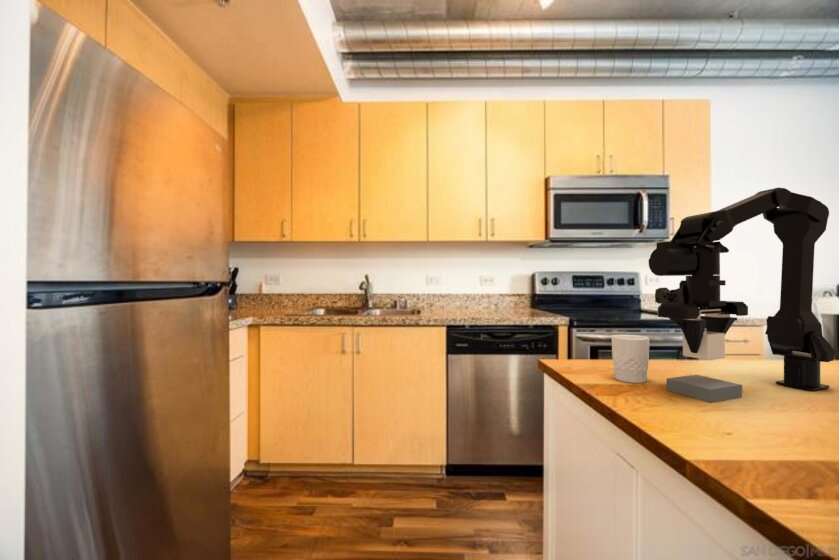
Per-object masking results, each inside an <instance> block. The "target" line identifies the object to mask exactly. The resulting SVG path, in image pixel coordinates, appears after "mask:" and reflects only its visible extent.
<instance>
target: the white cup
mask: <svg viewBox="0 0 839 560" xmlns="http://www.w3.org/2000/svg"><path fill="white" fill-rule="evenodd" d="M650 341H651V340H650V337H648V336H643V335H636V334H613V335H611V350H612V351H611V352H612V353H611V354H612V356H611V357H612V364H613V365H612V366H613V376H614V379H615V380H617V381H620V382H624V383H631V384H632V383H633V384H643V382H644V383H646V382H647V381H648V370H649V360H650V357H649V356H650Z"/></svg>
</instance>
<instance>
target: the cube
mask: <svg viewBox="0 0 839 560" xmlns="http://www.w3.org/2000/svg"><path fill="white" fill-rule="evenodd" d="M725 336H726V334H725V333H718V332H710V331H706V330H704V333H703V337H702V340H701V344H700V347H699V350H698V352H697V353H692V352H691V351H690V349H689V346H688V344H687V341H686V339H685V336H684V334H683V333H682V356H683V357H689V358H693V359H699V360H705V361H713V360H721V359H726V347H725V346H726V344H725V343H726V341H725V339H726V338H725Z"/></svg>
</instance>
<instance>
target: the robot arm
mask: <svg viewBox="0 0 839 560" xmlns="http://www.w3.org/2000/svg"><path fill="white" fill-rule="evenodd" d="M759 215H762V217H763V219H764V220H766V222H768V223H770V224H772V225H773V233H774V235H776V237H777V238H778V239H779V241H780V242H781V243H782V255H781V257H782V258H781V279H780V295H779V296H780V298H779V299H780V301H779V309H778V310H777V312H776V313H774V315H769V316H767V318H766V330H765V333H764V334H765V335H767V337H766V338H767V341H768V343H769V347H770V350H771V353H772V355H774V356H782V357H783V379H782V380H775V384H778V385H783V386H786V387H791V388H796V389H800V390H801V389H802V390H804V391H805V390H806V391H811V392H813V391H814V392H815V391H819V390H824V389H825V390H826V389H829V388H830V385H828V384H823V383H821V363H822V362H823V363H831V362H833V361H834V359H835V355H836V350H835V349H834V348H833V347H832V346H831V344H830V343H829V342H828V341H827V339H826V338H825V337H824V336H823V327H822V323H821V322H820V320H819V319H818V318H817V317H816V315H815V314H814V312H813V309H812V306H813V290H814V287H813V285H814V269H815V266H814V265H815V264H814V263H815V245H816V242H817V241H818V240H819V239H820V238H821V236H822V235H823V234H824V233H825V232H826V230H827V225H828V220H829V217H830V210H829V208H828V206H827V205H826V204H824V203H822V202H821V201H820V200H818V199H816V198H814V197H812V196H809V195H805V194H801V193H796V192H793V191H790V190H789V189H787V188H785V187H774V188H770V189H765V190H760V191H757V192H756V193H754V195H753V194H752V195H751V196H749V197H746V198H744V199H741V200H738V201H737V202H734V203H732V204H730V205H727V206H725V207H722V208H721V209H718V210H716V211H715V210H714V211H709V212H704V213H699V214H695V215H694V214H693V215H689V216H686V217H684V218H683V219H682V220H681V221H680V225H679V227H678V229H677V231H676V232H675V233H674V234H673V236H672V239H670V241H659V242H656V248H655V249H653V251H652V252H651V254H650V256H649V258H648V267H649V270H650V272H651V273H652V274H653V275H655V276H657V277H663V276H664V277H671V276H672V277H677V276H680V277H681V276H685V280H680V282H679V284H678V285H679V286H678V288H676V289H670V288H668V287H659V288H656V289H655V292H654V302H655V303H657V304H659V306H657V318H665V319H669V320H670V321H671V322H674V323H675V324H676V325H677V326H679V327H680V329H681V331H682V335H683V334H684V336H685V339H686V341H687V344H688V346H689V349H690V351H691V352H692V353H697V352H698V350H699V347H700V344H701V340H702V337H703V333H704V331H710V332H718V333H725V335H727V333H728V332H729V330H730V328H731V327H732V326H733V324H734V323H735V321H738V317H744V316H745V317H746V316H749V306H748V305H747V304H746V303H745V302H744V301H735V300H721V286H726V279H722V280H721V256H720V255H721V254H724V253H726V254H727V253H729V251H730V248H728V247H727V246H726V245H723V244H722V242H721V240H722V239H724V238H725V237H726V236H728V235H729V234H730V233H732V232H733V229H734V227H737V225H740V224H742V223H744V222H746V221H749V220H751V219H753V218H756V217H758V216H759ZM731 315H736V317H732V316H731ZM737 316H738V317H737Z"/></svg>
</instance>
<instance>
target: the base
mask: <svg viewBox="0 0 839 560" xmlns="http://www.w3.org/2000/svg"><path fill="white" fill-rule="evenodd" d="M667 390H668V392H671V393H675V394H679V395H683V396H685V397H689V398H691V399H692V398H693V399H696V400H699V401H703V402H708V403H717V402H723V401H729V400H736V399H740V398H743V384H740V383H736V382H731V381H727V380H723V379H719V378H713V377H708V376H703V375H700V374H690V375H683V376H676V377H675V376H673V377H667V378H666V391H667Z"/></svg>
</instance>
